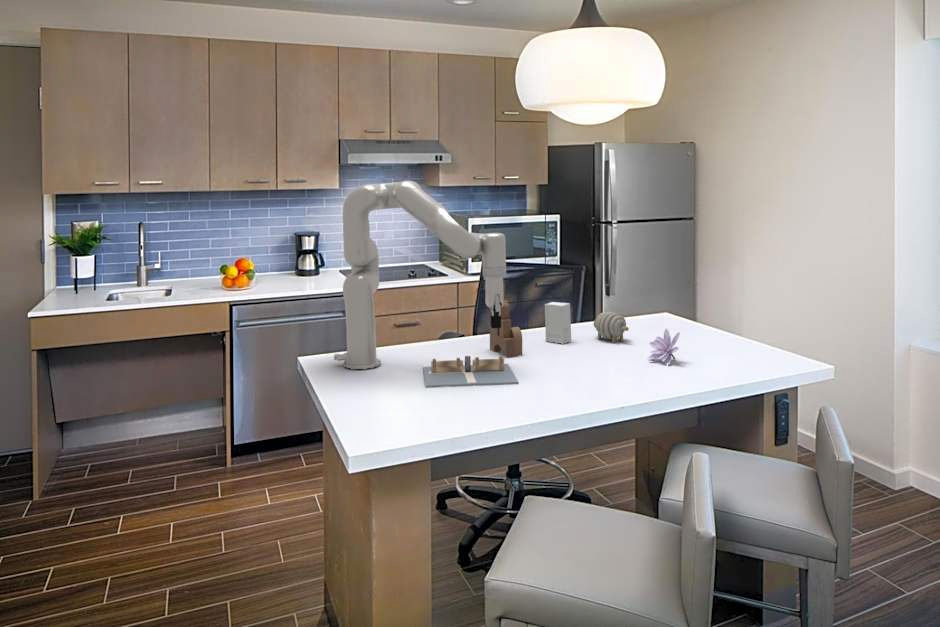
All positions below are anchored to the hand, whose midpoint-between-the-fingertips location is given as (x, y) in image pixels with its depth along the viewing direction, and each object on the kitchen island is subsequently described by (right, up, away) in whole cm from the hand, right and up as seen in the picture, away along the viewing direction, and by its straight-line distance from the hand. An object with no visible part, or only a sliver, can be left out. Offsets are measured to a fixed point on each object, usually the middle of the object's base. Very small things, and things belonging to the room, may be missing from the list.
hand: (496, 327), depth 234 cm
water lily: (+56, -12, +7) cm, 58 cm away
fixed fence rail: (-16, -14, -6) cm, 22 cm away
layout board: (-9, -15, -8) cm, 19 cm away
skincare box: (+25, -6, +37) cm, 45 cm away
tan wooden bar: (-3, -13, -5) cm, 14 cm away
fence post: (-9, -15, -5) cm, 18 cm away
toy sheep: (+45, -6, +38) cm, 59 cm away
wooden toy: (+4, -9, +23) cm, 25 cm away
